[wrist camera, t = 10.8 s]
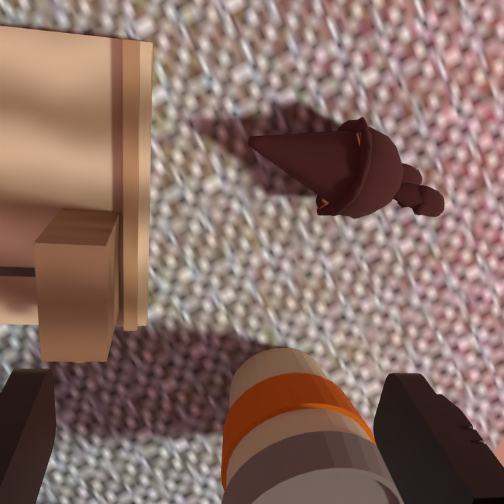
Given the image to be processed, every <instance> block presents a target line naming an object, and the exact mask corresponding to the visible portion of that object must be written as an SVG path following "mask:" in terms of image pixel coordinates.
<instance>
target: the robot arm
mask: <svg viewBox="0 0 504 504" xmlns="http://www.w3.org/2000/svg"><path fill="white" fill-rule="evenodd" d="M55 431H56V415H55V399H54V384H53V373H52V370H51V369H14V370H13V371H12V373H11V375H10V377H9V379H8V381H7V383H6V385H5V386H4V388H3V390H2V392H1V393H0V504H35V503H36V500H37V497H38V494H39V491H40V487H41V484H42V481H43V478H44V475H45V472H46V469H47V465H48V462H49V459H50V456H51V453H52V449H53V445H54V439H55ZM373 431H374V438H375V442H376V445H377V448H378V450H379V452H380V454H381V456H382V458H383V460H384V462H385V464H386V467H387V469H388V471H389V473H390V475H391V477H392V479H393V481H394V483H395V486H396V488H397V490H398V492H399V494H400V496H401V498H402V500H403V502H404V504H504V467H503V466H502V465H501V463H500V462H499V461H498V459H497V458H496V457H495V455H494V454H493V453H492V451H491V450H490V448H489V447H488V446H487V444H484V443H483V441H484V440H483V439H482V438H481V436H480V435H479V434H478V432H477V431H476V430H473V426H472V424H471V423H470V422H469V420H468V419H467V418H466V416H465V415H464V414H463V412H462V411H461V410H460V409H459V408H458V407H457V406H456V405H454V404H453V403H452V402H451V401H449V400H448V399H447V398H446V397H444V396H443V395H442V394H436V393H435V392H434V390H433V389H432V387H431V386H430V385H429V383H428V382H427V380H426V379H425V378H424V377H423V376H422V375H421V374H418V373H391V374H389V375H388V376H387V378H386V380H385V383H384V387H383V390H382V394H381V397H380V401H379V404H378V408H377V411H376V415H375V418H374V425H373Z"/></svg>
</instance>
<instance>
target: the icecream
mask: <svg viewBox="0 0 504 504" xmlns="http://www.w3.org/2000/svg"><path fill="white" fill-rule="evenodd" d="M248 145H249V146H251V147H252V148H253V149H255V150H256V151H257V152H259V153H260V154H262V155H263V156H264V157H266V158H267V159H269V160H270V161H271V162H273V163H274V164H276V165H277V166H278V167H280V168H281V169H283V170H284V171H285V172H287V173H288V174H289V175H291V176H292V177H294V178H295V179H296V180H298V181H299V182H301V183H302V184H303V185H305V186H306V187H307V188H309V189H310V190H312V191H313V192H314V193H316V194H317V195H318V196H317V198H316V203H317V206H318V208H317V214H318V215H332V216H336V215H344V216H350V217H351V218H354V219H356V218H360V217H362V216H365V215H369V214H371V213H373V212H375V211H377V210H379V209H381V208H382V207H384V206H386V205H387V204H388V203H390V202H391V201H392V199H395V200H396V201H398V204H399V205H400V206H401V207H402V208H403V207H410V208H412V209H413V211H414V213H415V214H416V215H426V216H430V217H437V216H439V215H440V214H441V213H442V212H443V211H444V204H445V203H444V198H443V196H442V195H441V194H440V193H439V192H438V191H436V190H434V189H432V188H430V187H428V186H423V185H420V184H421V183H422V176H421V174H420V172H419V170H417V169H415V168H413V167H412V166H410V165H407V164H403V163H401V159H400V156H399V154H398V151H397V148H396V146H395V145H394V143H393V142H392V141H391V140H390V138H389V137H388V136H386V135H384V134H382V133H380V132H378V131H377V130H375V129H373V128H371V127H368V126H367V123H366V121H365V119H364V118H363V117H362V118H360V119H358V120H348V121H347V122H345V123H343V124H342V125H341V127H340V128H339V130H338V131H336V132H319V133H303V134H287V135H265V136H251V137H250V138H249V141H248Z"/></svg>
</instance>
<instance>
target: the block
mask: <svg viewBox="0 0 504 504" xmlns="http://www.w3.org/2000/svg"><path fill="white" fill-rule="evenodd" d="M119 235H120V212H107V211H89V210H71V209H61V210H60V211H59V212H58V214H57V215H56V216H55V217H54V219H53V220H52V221H51V222H50V223H49V225H48V226H47V227H46V228H45V229H44V231H43V232H42V233H41V234H40V235H39V237H38V238H37V239H36V240H35V242H34V243H33V244H34V260H35V275H36V291H37V306H38V322H39V337H40V353H41V361H50V362H74V363H83V362H107V358H108V354H109V350H110V346H111V342H112V338H113V334H114V329H115V325H116V321H117V317H118V313H119Z"/></svg>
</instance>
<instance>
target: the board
mask: <svg viewBox="0 0 504 504" xmlns="http://www.w3.org/2000/svg"><path fill="white" fill-rule="evenodd" d="M152 51H153V43H152V42H143V41H136V40H127V39H116V38H107V37H98V36H88V35H79V34H70V33H61V32H52V31H43V30H34V29H25V28H16V27H7V26H0V324H27V325H39V322H38V306H37V291H36V275H35V260H34V244H33V243H34V242H35V240H36V239H37V238H38V237H39V235H40V234H41V233H42V232H43V231H44V229H45V228H46V227H47V226H48V225H49V223H50V222H51V221H52V220H53V219H54V217H55V216H56V215H57V214H58V212H59V211H60V210H61V209H71V210H89V211H107V212H120V235H119V313H118V317H117V321H116V325H120V326H124V331H137V326H146V325H147V317H148V268H149V214H150V159H151V105H152Z"/></svg>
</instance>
